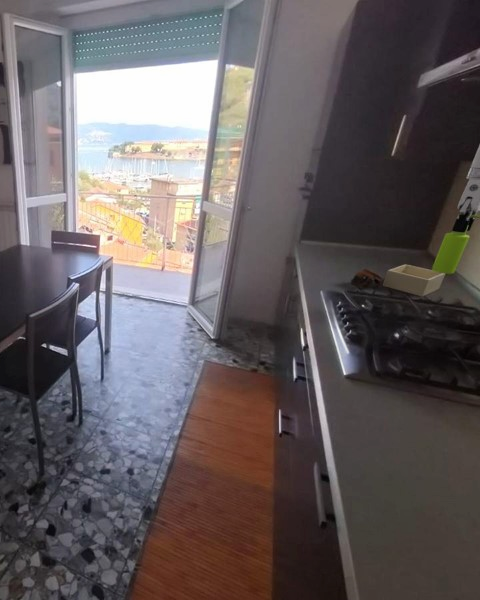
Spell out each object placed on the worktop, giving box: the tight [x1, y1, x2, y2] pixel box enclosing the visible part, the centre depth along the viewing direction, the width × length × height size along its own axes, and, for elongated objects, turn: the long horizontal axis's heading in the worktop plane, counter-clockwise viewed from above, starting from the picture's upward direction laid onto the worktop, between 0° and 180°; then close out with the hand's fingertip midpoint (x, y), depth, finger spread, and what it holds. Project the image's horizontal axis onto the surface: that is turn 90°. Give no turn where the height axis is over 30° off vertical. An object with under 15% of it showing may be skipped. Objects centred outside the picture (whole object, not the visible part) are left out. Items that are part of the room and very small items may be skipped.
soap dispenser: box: [431, 214, 480, 275], centre depth 123 cm, size 6×7×20 cm
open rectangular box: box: [382, 263, 446, 297], centre depth 149 cm, size 14×16×7 cm
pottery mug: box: [349, 268, 383, 289], centre depth 150 cm, size 12×10×8 cm
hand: (460, 230), depth 121 cm, fingers closed on soap dispenser, 3 cm apart
